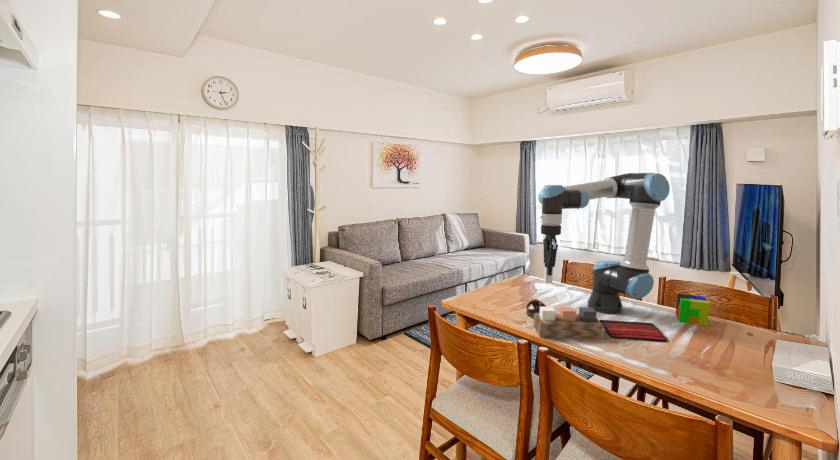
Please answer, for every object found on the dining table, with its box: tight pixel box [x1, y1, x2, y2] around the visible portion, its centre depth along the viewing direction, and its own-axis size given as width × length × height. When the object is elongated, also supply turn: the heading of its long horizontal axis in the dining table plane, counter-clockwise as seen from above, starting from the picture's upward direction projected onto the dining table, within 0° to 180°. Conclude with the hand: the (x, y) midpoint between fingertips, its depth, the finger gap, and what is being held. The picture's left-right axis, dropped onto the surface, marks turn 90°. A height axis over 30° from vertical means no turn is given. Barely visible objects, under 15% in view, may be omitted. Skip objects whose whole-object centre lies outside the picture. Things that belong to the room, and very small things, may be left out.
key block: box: [533, 313, 604, 340], centre depth 156 cm, size 24×11×6 cm, turn 86°
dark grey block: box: [578, 306, 598, 322], centre depth 154 cm, size 5×5×6 cm
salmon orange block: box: [558, 306, 577, 321], centre depth 155 cm, size 5×5×6 cm
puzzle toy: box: [675, 293, 711, 327], centre depth 168 cm, size 10×10×10 cm
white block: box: [539, 306, 556, 321], centre depth 156 cm, size 5×5×6 cm
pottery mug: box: [525, 298, 547, 316], centre depth 176 cm, size 12×10×8 cm
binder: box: [599, 319, 668, 343], centre depth 156 cm, size 16×2×21 cm
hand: (548, 282), depth 153 cm, fingers closed
